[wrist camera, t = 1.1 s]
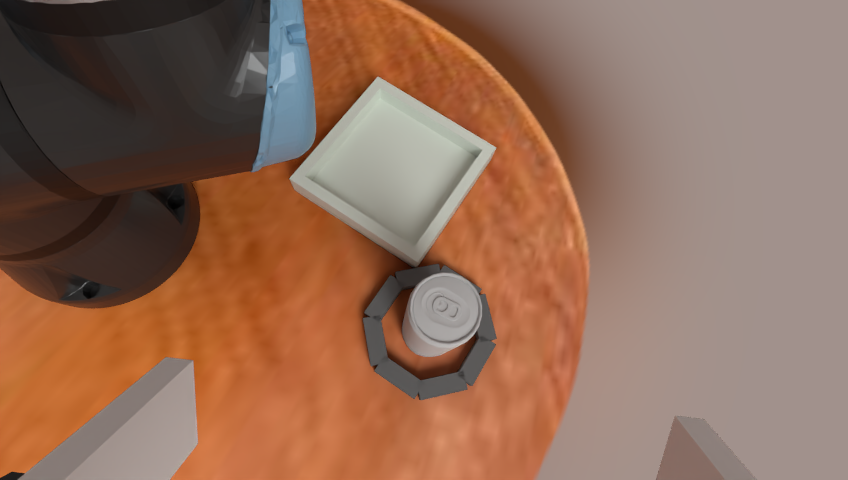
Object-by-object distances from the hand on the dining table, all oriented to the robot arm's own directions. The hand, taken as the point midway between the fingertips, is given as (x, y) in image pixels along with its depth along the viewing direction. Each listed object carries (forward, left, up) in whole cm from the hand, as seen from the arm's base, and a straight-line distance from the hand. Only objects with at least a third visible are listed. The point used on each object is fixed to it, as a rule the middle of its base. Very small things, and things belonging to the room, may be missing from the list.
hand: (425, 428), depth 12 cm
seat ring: (-1, +6, -25) cm, 26 cm away
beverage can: (-1, +6, -26) cm, 26 cm away
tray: (-12, +17, -25) cm, 33 cm away
